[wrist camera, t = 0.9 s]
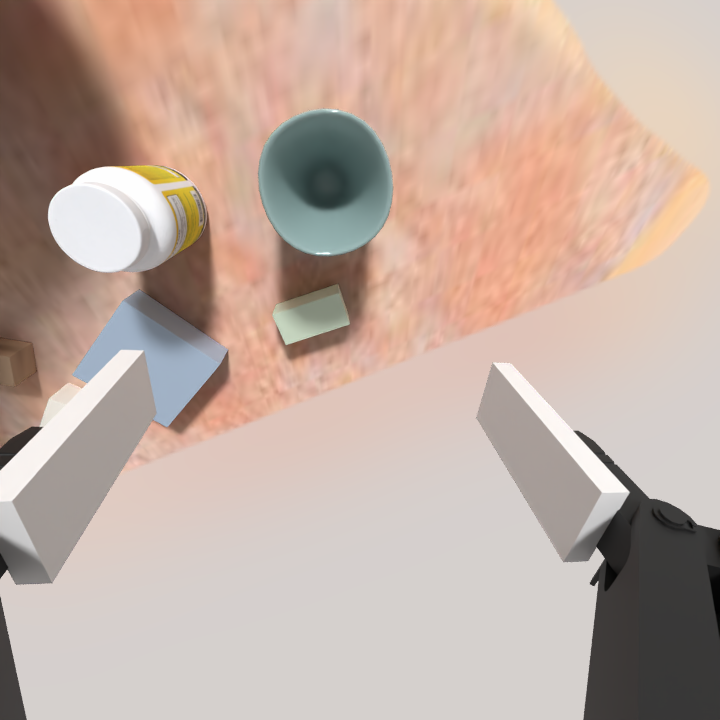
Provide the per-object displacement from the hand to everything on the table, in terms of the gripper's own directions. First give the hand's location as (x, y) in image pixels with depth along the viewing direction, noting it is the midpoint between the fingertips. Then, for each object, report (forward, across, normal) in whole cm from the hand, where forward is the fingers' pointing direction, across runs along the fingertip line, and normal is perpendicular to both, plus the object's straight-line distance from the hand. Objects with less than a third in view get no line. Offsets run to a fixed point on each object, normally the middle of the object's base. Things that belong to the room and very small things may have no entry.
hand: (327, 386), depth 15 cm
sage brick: (+21, -1, -5) cm, 22 cm away
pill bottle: (+21, -12, +3) cm, 25 cm away
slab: (+21, -15, -10) cm, 28 cm away
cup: (+21, 0, +6) cm, 22 cm away
